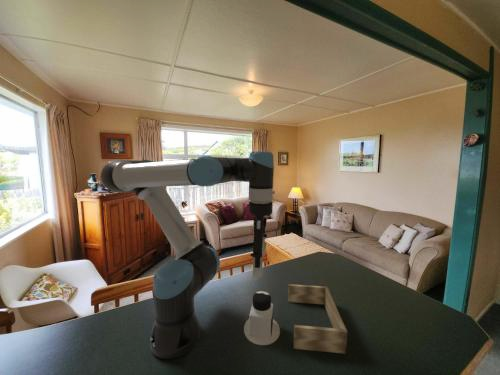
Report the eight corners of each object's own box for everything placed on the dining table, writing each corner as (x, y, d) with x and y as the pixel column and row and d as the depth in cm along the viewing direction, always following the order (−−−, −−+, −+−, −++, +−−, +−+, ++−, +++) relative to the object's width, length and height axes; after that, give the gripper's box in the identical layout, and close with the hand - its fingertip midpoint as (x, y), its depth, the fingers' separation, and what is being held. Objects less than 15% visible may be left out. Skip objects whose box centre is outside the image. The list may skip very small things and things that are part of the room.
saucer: (241, 343, 63) (241, 342, 63) (246, 315, 75) (246, 314, 75) (280, 347, 62) (280, 346, 62) (279, 317, 74) (279, 316, 74)
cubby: (293, 348, 62) (294, 327, 61) (288, 300, 83) (288, 284, 83) (345, 353, 60) (347, 332, 59) (326, 303, 82) (327, 286, 81)
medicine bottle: (271, 339, 64) (271, 304, 63) (249, 335, 66) (249, 301, 64) (273, 322, 71) (273, 290, 70) (252, 319, 73) (253, 287, 71)
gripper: (271, 211, 52) (269, 289, 54) (273, 195, 76) (271, 249, 79) (242, 209, 53) (241, 286, 55) (253, 194, 77) (252, 248, 80)
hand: (259, 265), depth 67 cm, fingers open, 13 cm apart
